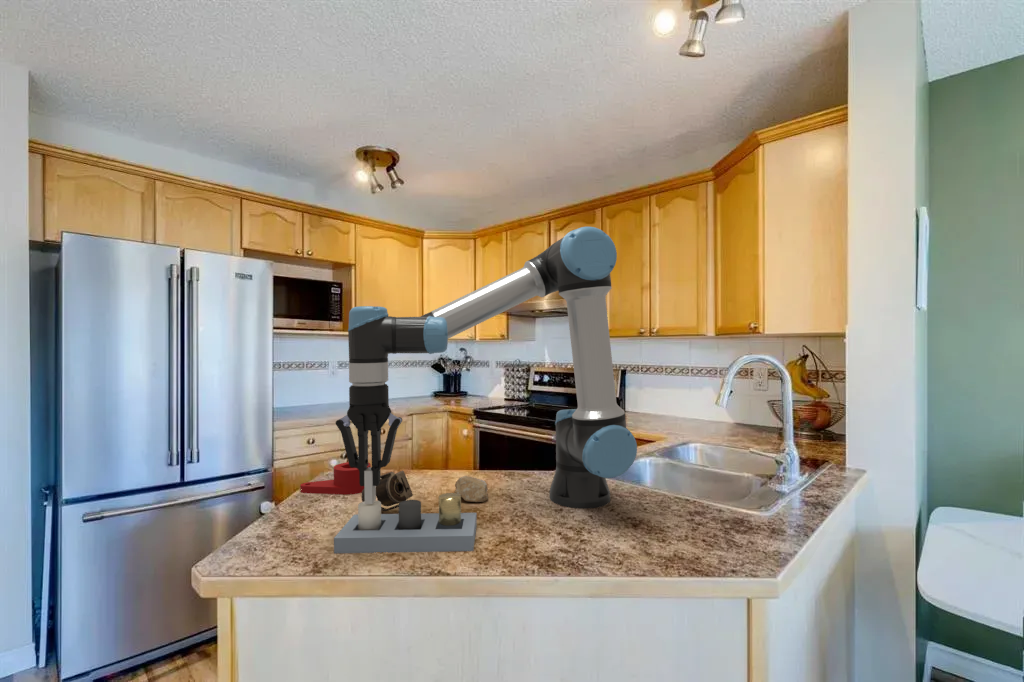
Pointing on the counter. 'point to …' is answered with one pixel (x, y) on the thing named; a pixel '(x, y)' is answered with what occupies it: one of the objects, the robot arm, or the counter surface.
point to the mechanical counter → (392, 490)
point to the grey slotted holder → (408, 536)
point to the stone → (471, 489)
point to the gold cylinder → (449, 509)
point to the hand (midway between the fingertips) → (370, 501)
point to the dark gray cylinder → (410, 515)
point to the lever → (337, 482)
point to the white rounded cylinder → (369, 516)
